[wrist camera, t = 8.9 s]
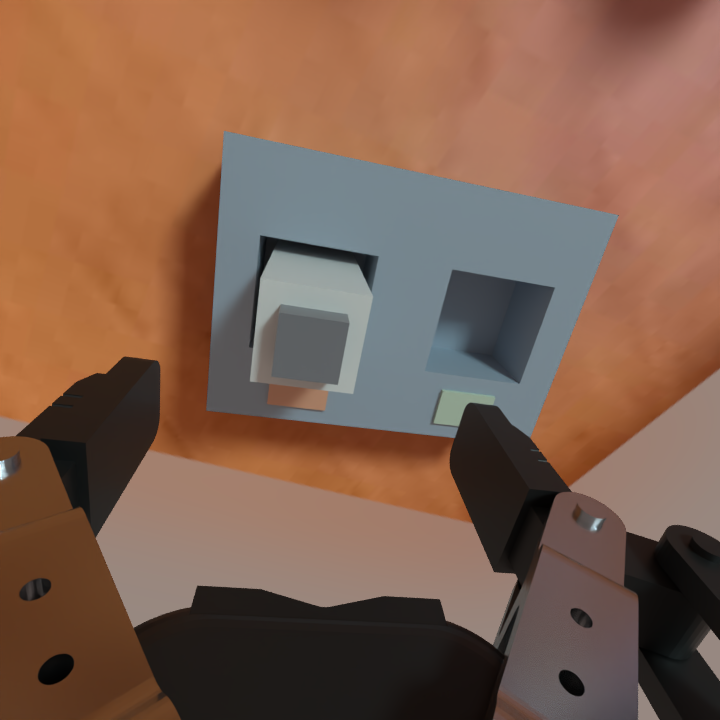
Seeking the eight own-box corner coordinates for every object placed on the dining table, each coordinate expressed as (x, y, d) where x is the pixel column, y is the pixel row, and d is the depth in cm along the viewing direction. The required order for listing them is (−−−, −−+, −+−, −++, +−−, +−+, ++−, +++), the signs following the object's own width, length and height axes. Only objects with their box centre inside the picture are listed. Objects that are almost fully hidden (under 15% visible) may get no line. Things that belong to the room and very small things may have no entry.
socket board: (563, 206, 25) (621, 215, 20) (494, 403, 30) (528, 447, 25) (242, 138, 22) (222, 130, 17) (224, 369, 27) (205, 412, 22)
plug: (352, 252, 24) (376, 304, 15) (340, 320, 25) (355, 406, 16) (278, 239, 23) (257, 285, 14) (270, 310, 25) (246, 394, 16)
